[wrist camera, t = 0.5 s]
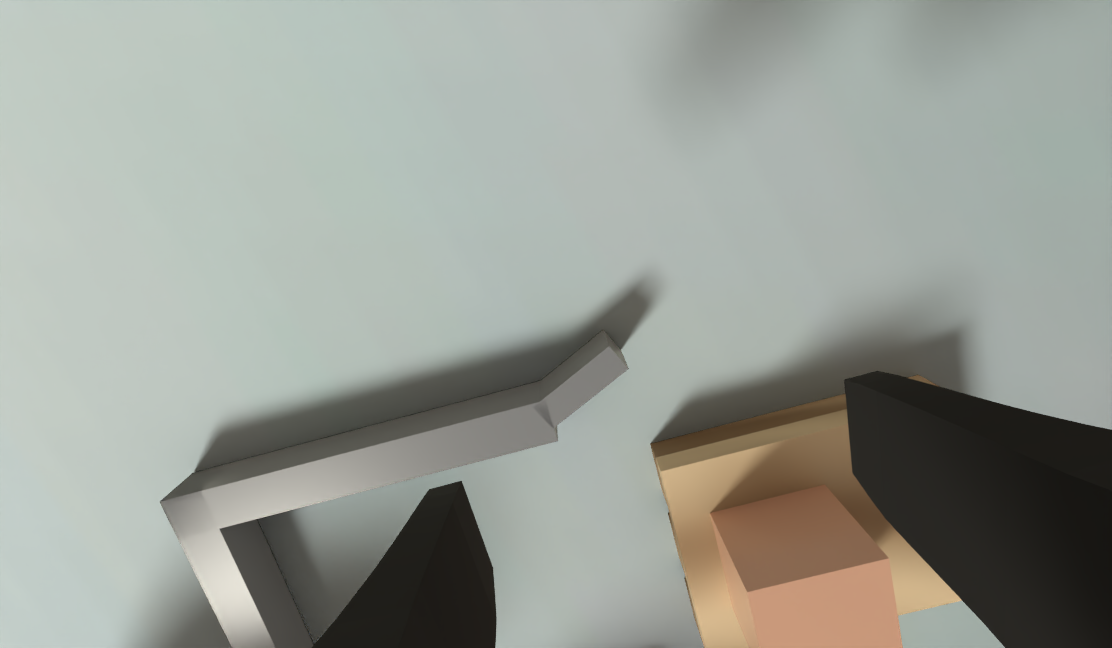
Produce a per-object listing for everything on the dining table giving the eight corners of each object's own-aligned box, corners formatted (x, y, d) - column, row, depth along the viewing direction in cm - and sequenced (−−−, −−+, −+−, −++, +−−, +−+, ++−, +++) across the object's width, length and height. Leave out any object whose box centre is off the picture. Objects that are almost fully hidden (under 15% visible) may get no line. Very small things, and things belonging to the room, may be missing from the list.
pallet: (937, 555, 24) (978, 596, 22) (693, 613, 25) (708, 660, 22) (913, 372, 22) (957, 396, 20) (648, 440, 23) (660, 471, 20)
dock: (713, 711, 26) (728, 756, 24) (346, 797, 26) (331, 847, 24) (615, 326, 21) (621, 342, 19) (179, 443, 22) (143, 469, 20)
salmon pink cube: (842, 581, 22) (906, 672, 18) (732, 607, 22) (772, 702, 18) (824, 484, 21) (889, 558, 17) (710, 512, 21) (747, 592, 17)
